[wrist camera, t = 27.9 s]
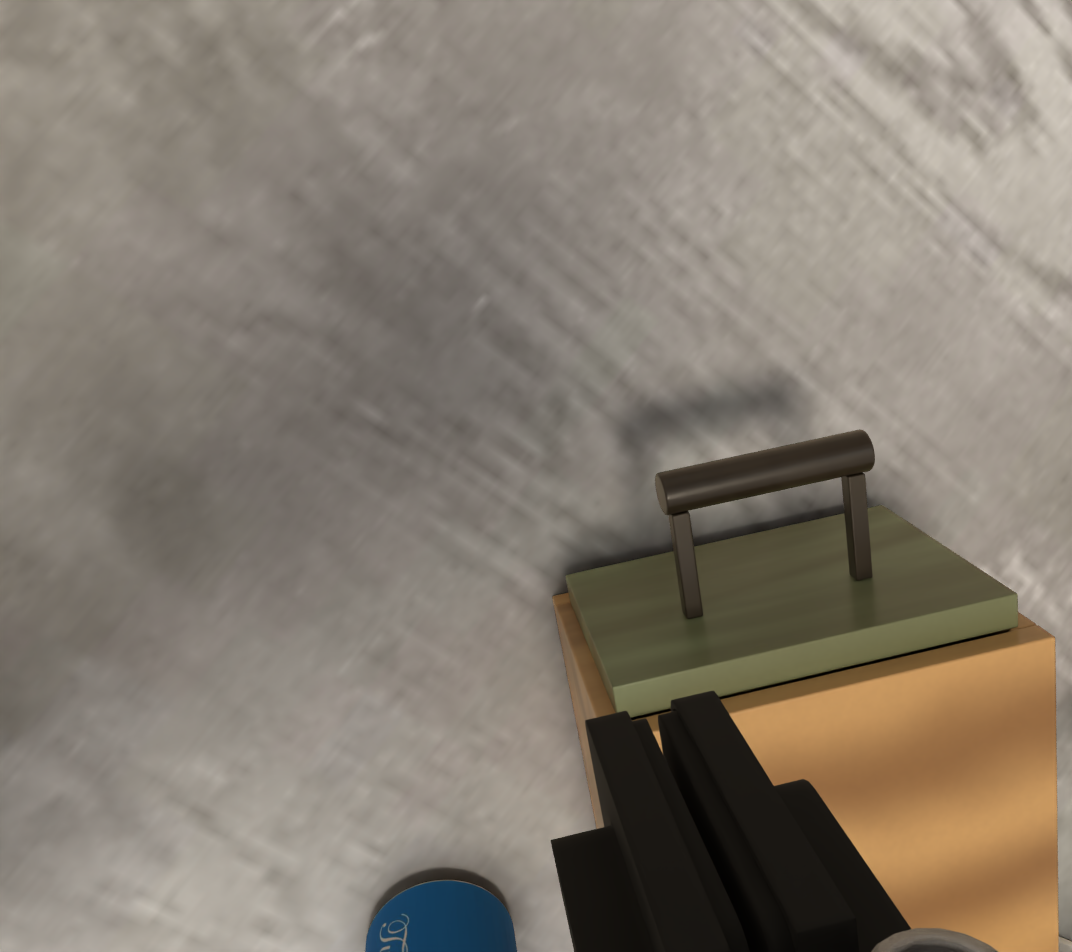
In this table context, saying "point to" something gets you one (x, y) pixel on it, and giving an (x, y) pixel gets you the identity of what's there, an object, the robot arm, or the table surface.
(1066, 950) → the decorative candle
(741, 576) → the drawer
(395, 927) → the beverage can
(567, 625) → the cabinet
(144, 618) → the table surface
